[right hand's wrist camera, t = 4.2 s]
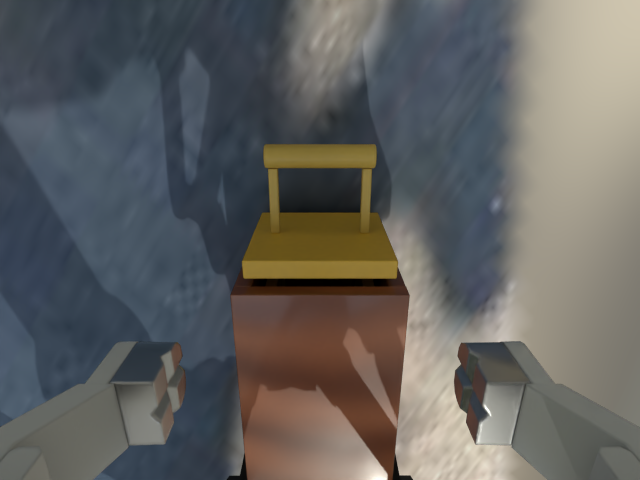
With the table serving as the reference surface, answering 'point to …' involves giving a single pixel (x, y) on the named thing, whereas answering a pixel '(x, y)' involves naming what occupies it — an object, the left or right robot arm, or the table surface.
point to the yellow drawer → (319, 228)
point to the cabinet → (319, 378)
